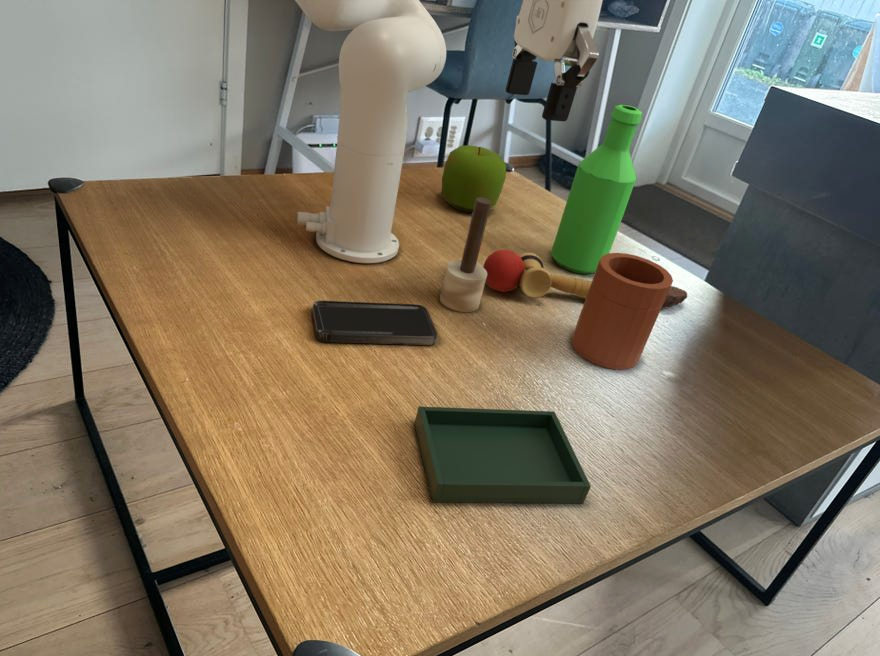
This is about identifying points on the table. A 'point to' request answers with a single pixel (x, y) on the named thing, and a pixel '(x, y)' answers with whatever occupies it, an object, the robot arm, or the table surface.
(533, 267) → the kendama
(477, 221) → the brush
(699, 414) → the table surface
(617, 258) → the jar
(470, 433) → the tray
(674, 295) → the stone
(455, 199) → the apple
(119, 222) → the table surface
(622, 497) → the table surface
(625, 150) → the bottle
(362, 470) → the table surface
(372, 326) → the phone
